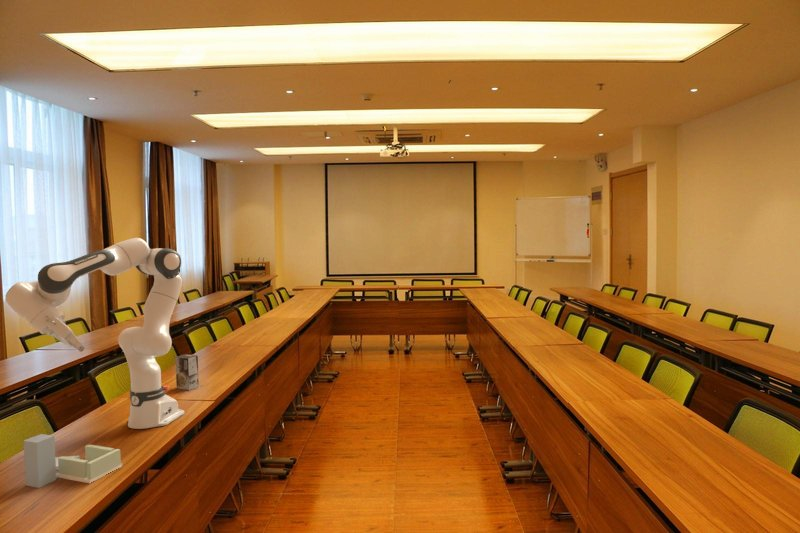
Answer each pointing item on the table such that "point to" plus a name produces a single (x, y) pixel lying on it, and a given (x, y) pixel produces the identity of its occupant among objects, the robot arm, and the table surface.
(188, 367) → the coffee box
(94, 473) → the cradle
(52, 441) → the block
